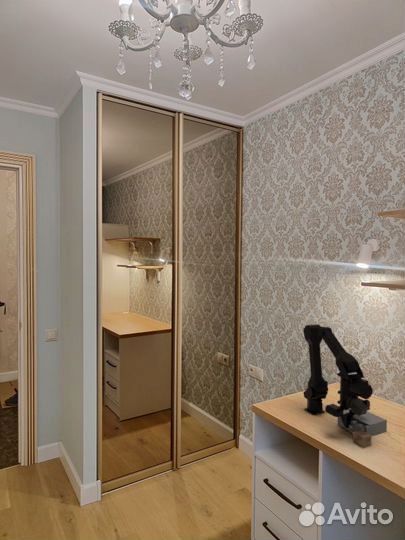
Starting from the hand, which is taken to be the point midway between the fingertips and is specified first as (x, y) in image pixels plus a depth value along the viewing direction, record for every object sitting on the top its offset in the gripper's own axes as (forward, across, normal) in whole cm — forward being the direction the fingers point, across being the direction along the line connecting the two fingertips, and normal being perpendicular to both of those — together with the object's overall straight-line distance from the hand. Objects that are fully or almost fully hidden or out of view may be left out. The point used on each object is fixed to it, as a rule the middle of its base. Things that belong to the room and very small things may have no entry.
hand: (346, 427), depth 150 cm
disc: (0, +8, 0) cm, 8 cm away
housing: (+2, +10, 0) cm, 10 cm away
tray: (+2, +7, 0) cm, 7 cm away
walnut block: (+2, -2, -9) cm, 10 cm away
